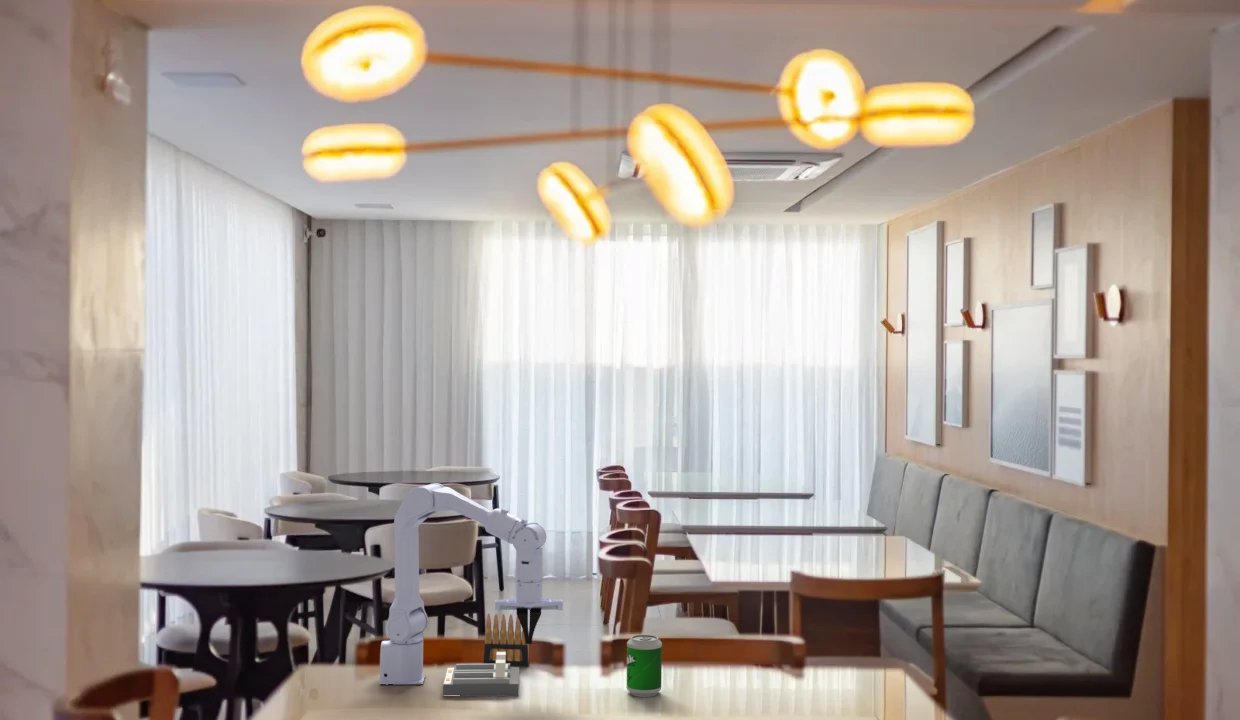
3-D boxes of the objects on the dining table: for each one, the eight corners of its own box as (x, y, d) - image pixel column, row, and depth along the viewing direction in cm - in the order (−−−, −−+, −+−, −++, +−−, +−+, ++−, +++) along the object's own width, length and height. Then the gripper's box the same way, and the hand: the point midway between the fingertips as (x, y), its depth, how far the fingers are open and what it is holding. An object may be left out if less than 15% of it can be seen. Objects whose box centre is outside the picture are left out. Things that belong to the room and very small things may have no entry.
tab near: (493, 680, 256) (493, 663, 256) (493, 676, 260) (493, 659, 260) (507, 680, 256) (507, 663, 256) (507, 676, 260) (507, 659, 260)
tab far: (493, 672, 263) (494, 655, 263) (494, 668, 267) (494, 651, 267) (507, 672, 263) (507, 655, 263) (507, 667, 267) (508, 651, 267)
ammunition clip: (529, 664, 281) (530, 613, 281) (528, 666, 279) (529, 615, 279) (484, 663, 282) (485, 612, 282) (483, 665, 280) (483, 614, 280)
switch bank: (443, 696, 254) (443, 679, 254) (447, 678, 268) (447, 663, 268) (518, 695, 255) (518, 679, 255) (518, 678, 269) (519, 662, 269)
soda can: (665, 690, 260) (666, 635, 260) (655, 699, 253) (655, 643, 253) (632, 687, 263) (633, 632, 263) (621, 696, 256) (622, 640, 256)
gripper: (495, 583, 254) (494, 647, 254) (563, 583, 255) (562, 647, 255) (495, 577, 261) (495, 639, 261) (562, 577, 262) (561, 639, 262)
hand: (528, 643), depth 258 cm, fingers closed
